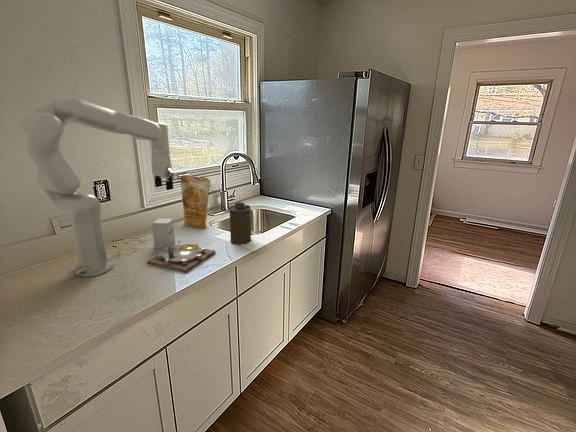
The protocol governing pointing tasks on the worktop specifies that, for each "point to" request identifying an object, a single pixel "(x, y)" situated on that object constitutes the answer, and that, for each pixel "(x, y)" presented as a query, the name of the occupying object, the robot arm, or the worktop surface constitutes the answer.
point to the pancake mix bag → (195, 200)
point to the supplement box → (163, 233)
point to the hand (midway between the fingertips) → (164, 187)
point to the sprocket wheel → (181, 253)
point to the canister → (240, 223)
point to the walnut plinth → (179, 266)
